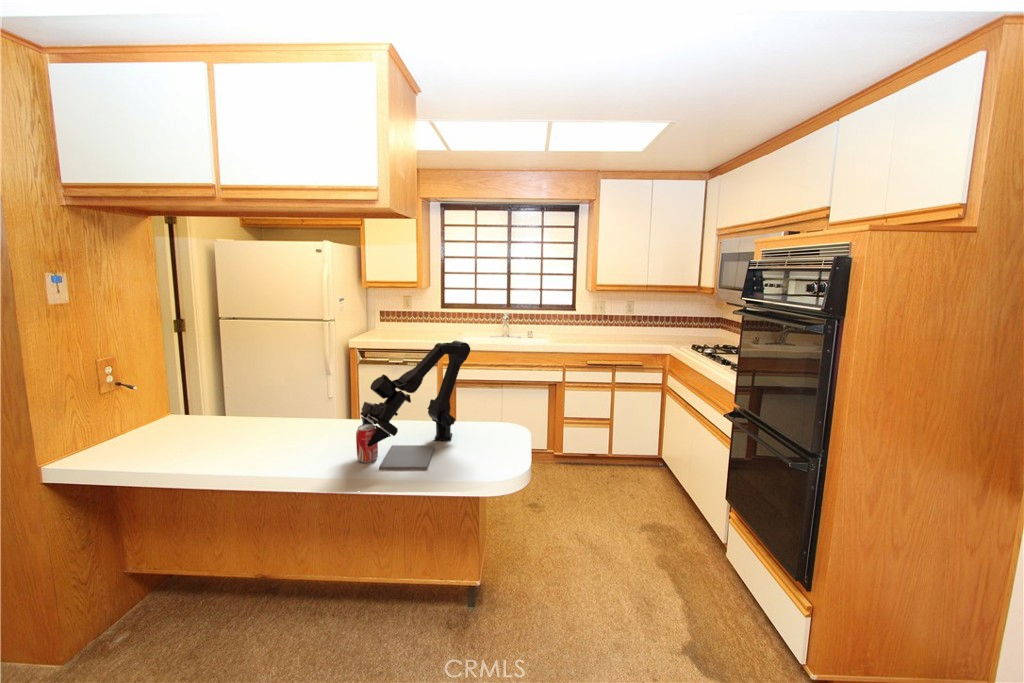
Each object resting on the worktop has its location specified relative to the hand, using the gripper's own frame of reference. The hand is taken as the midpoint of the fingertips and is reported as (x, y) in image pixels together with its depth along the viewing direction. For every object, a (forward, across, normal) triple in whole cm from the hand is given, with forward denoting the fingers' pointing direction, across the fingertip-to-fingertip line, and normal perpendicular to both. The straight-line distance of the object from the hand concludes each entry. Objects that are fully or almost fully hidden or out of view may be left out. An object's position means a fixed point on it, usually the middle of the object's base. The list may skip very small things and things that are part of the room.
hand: (363, 442), depth 156 cm
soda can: (+4, 0, +6) cm, 7 cm away
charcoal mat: (-4, +8, +14) cm, 17 cm away
